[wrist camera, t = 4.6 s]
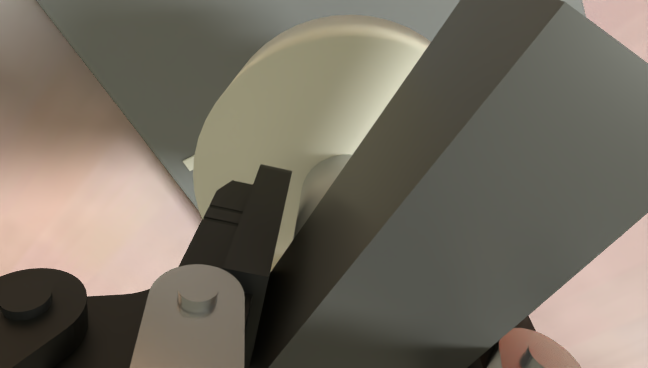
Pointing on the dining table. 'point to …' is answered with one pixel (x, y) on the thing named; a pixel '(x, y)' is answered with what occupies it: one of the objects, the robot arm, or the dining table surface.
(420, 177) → the coupling
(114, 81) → the post board
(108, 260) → the dining table surface
